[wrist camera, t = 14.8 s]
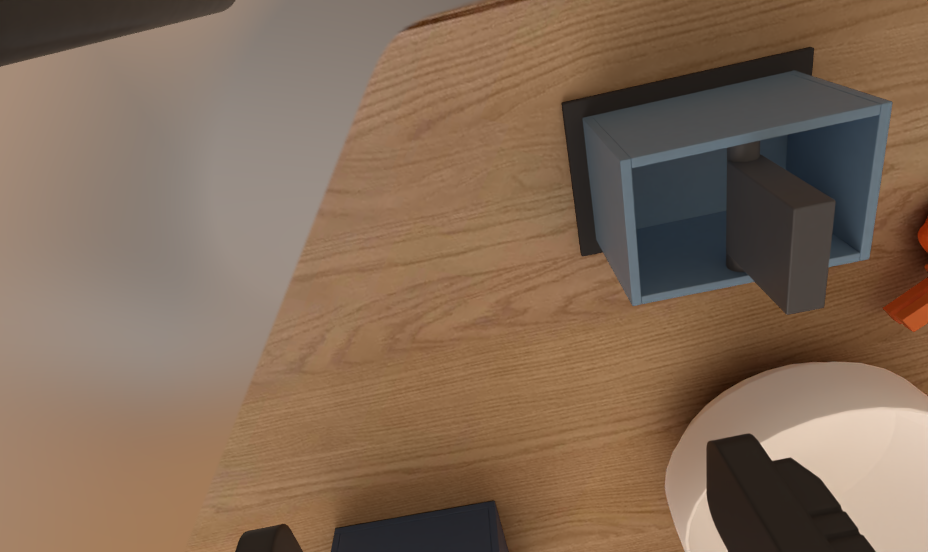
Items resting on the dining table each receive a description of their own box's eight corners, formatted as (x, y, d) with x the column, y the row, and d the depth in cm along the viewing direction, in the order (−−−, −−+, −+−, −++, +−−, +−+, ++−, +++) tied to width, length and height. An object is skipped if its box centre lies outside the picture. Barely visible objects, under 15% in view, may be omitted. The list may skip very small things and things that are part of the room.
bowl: (616, 381, 43) (653, 469, 36) (889, 286, 40) (991, 362, 32) (676, 534, 52) (715, 630, 45) (902, 468, 49) (984, 559, 41)
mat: (580, 254, 38) (581, 256, 37) (561, 102, 33) (562, 104, 33) (797, 209, 37) (801, 212, 36) (810, 46, 32) (814, 47, 32)
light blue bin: (596, 240, 37) (665, 366, 25) (582, 117, 33) (656, 201, 22) (786, 200, 36) (946, 313, 25) (794, 70, 32) (988, 132, 21)
